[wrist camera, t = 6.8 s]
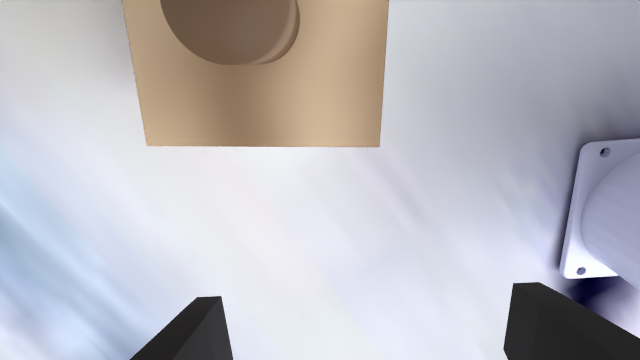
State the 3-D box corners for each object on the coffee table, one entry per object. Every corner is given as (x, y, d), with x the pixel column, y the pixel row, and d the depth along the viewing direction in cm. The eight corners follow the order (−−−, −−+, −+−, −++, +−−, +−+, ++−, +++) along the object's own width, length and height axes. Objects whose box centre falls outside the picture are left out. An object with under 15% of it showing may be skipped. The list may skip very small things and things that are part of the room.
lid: (390, -127, 11) (444, -277, 6) (375, 140, 14) (403, 181, 9) (119, -128, 11) (-39, -276, 6) (160, 139, 14) (75, 180, 9)
